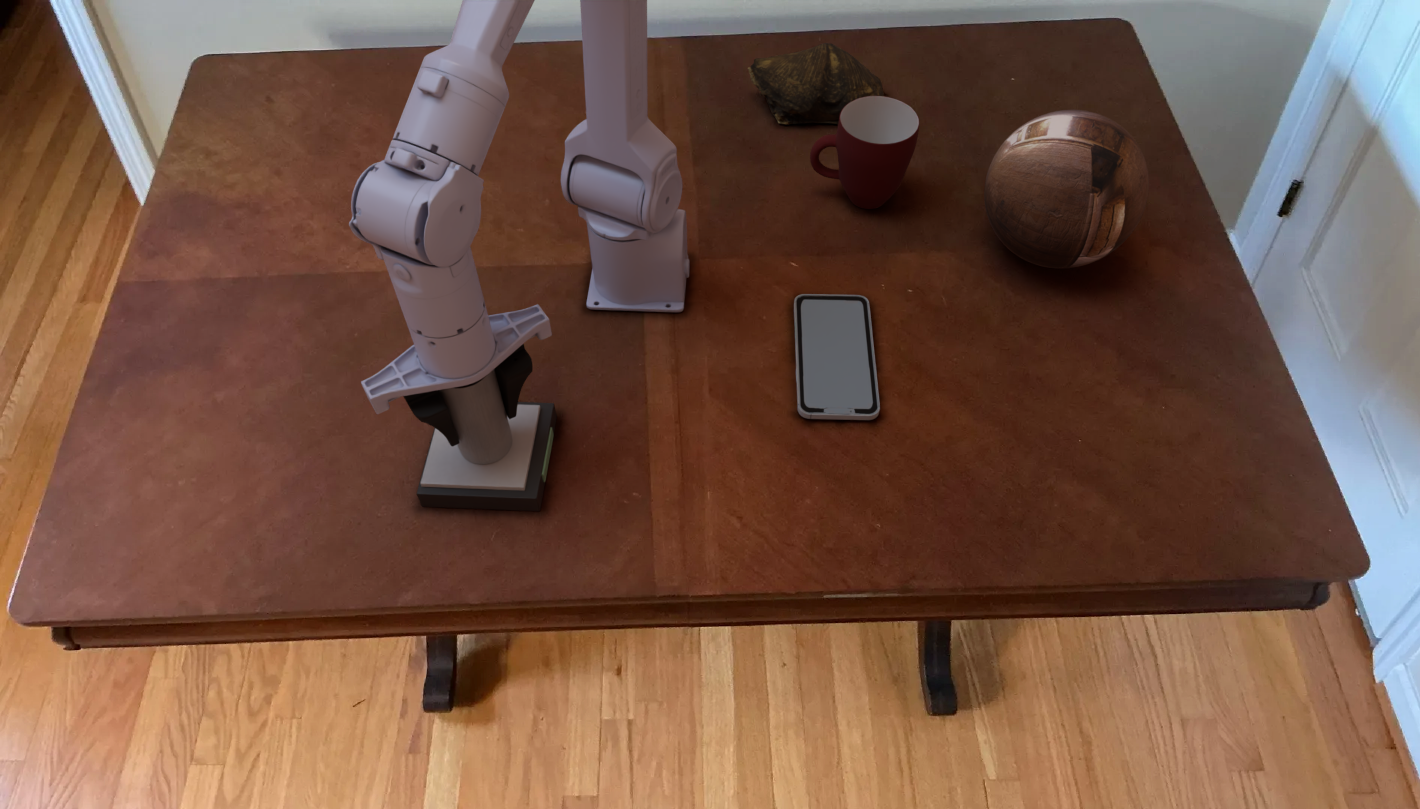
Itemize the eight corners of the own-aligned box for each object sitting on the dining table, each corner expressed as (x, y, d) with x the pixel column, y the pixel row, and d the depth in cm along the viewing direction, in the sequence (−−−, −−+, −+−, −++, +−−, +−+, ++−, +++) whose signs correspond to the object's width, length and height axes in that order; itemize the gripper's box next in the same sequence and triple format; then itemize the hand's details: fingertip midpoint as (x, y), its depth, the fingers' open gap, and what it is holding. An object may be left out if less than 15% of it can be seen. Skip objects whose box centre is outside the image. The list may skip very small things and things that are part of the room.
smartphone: (868, 295, 97) (881, 415, 88) (867, 301, 98) (880, 421, 89) (793, 293, 97) (797, 414, 88) (792, 299, 98) (797, 420, 89)
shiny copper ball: (965, 195, 108) (996, 73, 96) (1106, 203, 107) (1155, 81, 95) (976, 295, 98) (1012, 174, 87) (1131, 304, 98) (1188, 183, 86)
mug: (809, 223, 105) (817, 145, 97) (804, 173, 110) (811, 95, 102) (909, 222, 105) (925, 144, 97) (900, 172, 110) (914, 94, 102)
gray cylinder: (519, 454, 84) (498, 376, 76) (467, 472, 83) (440, 395, 75) (504, 415, 86) (482, 335, 78) (452, 432, 85) (425, 353, 77)
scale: (558, 416, 89) (555, 399, 87) (541, 511, 83) (537, 495, 81) (446, 412, 90) (440, 395, 88) (421, 506, 84) (414, 490, 82)
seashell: (880, 76, 120) (891, 32, 114) (886, 135, 117) (898, 93, 110) (745, 75, 120) (748, 31, 114) (747, 135, 116) (750, 93, 110)
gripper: (512, 239, 76) (536, 356, 87) (327, 314, 71) (378, 428, 82) (554, 295, 72) (575, 409, 83) (363, 378, 68) (411, 489, 78)
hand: (479, 423), depth 82 cm, fingers closed on gray cylinder, 4 cm apart
